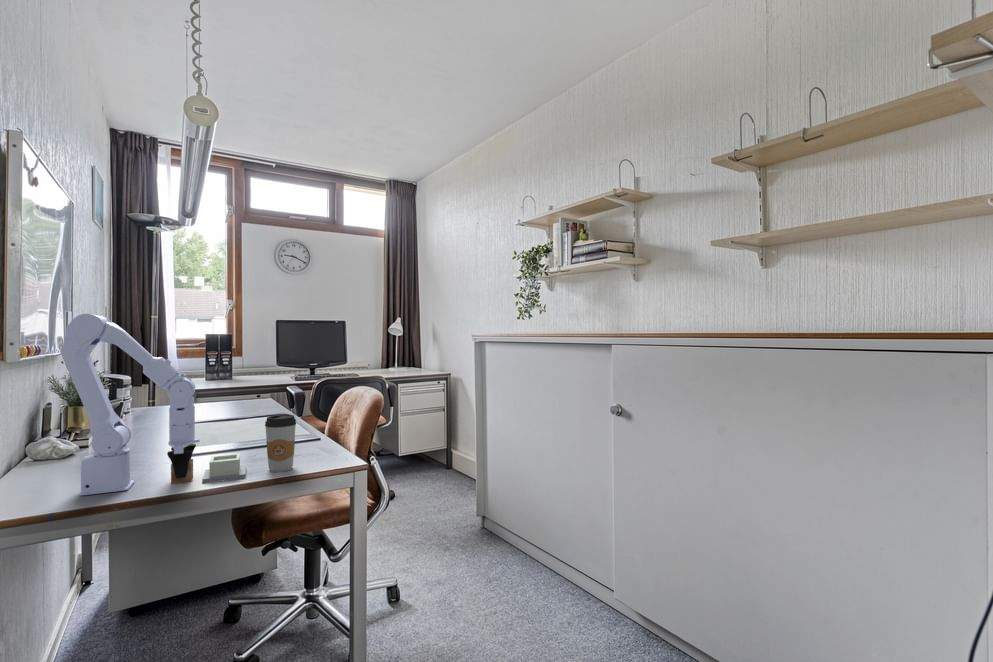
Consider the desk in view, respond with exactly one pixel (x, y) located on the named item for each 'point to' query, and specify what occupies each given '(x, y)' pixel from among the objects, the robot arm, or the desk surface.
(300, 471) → the desk surface
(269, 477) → the desk surface
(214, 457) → the socket base
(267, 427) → the coffee cup
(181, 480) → the walnut block
